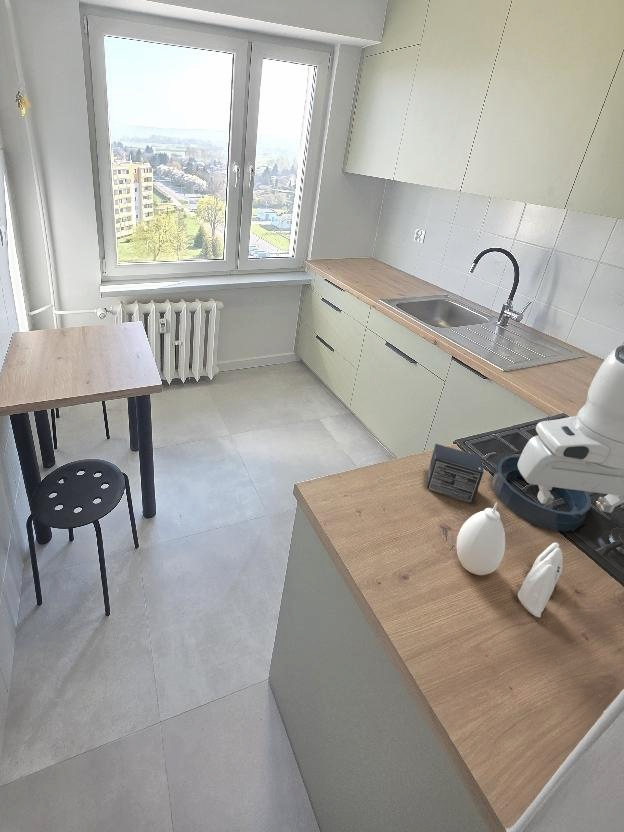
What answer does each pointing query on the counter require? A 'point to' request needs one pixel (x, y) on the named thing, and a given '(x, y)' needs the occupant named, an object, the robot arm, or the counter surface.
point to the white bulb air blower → (481, 542)
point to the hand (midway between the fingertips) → (573, 505)
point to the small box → (455, 473)
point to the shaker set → (541, 580)
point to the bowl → (535, 512)
